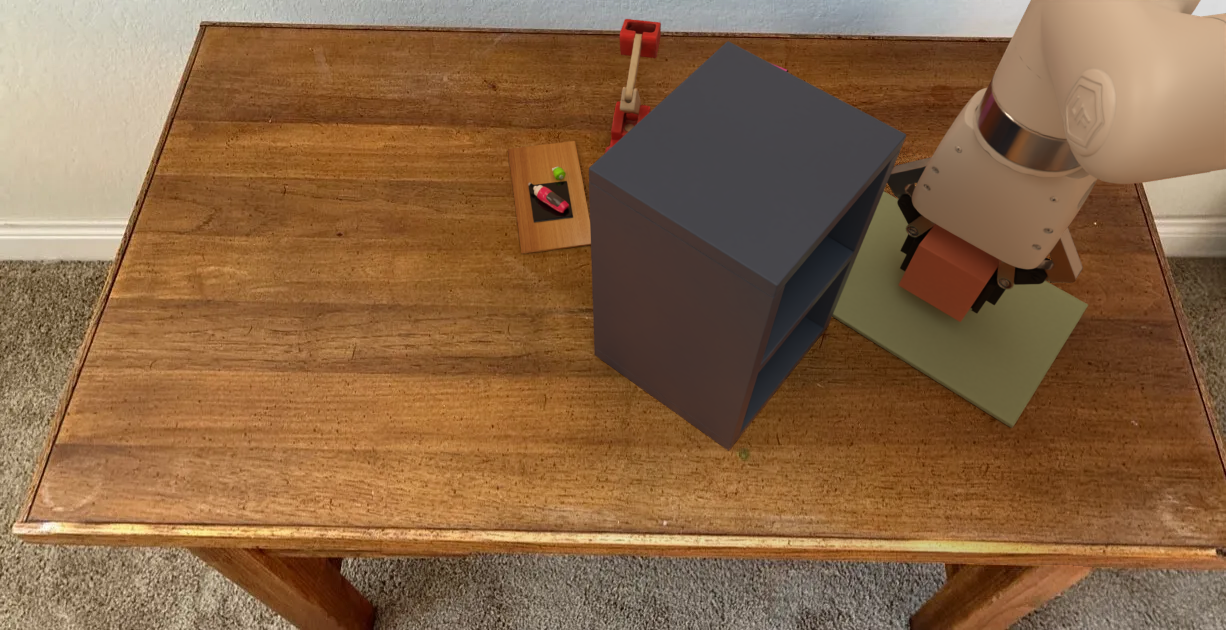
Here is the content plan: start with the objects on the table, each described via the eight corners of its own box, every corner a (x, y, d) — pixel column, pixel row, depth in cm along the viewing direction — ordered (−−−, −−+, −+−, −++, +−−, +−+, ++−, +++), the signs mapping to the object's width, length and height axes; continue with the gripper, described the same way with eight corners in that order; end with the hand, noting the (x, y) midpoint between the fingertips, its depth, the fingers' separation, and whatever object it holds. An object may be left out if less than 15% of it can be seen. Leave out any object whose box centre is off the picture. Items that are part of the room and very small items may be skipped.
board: (575, 142, 80) (574, 131, 79) (594, 244, 74) (593, 234, 73) (508, 150, 80) (506, 139, 79) (521, 254, 74) (519, 243, 72)
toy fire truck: (599, 202, 77) (598, 124, 68) (623, 94, 84) (624, 11, 76) (637, 207, 76) (640, 129, 68) (657, 97, 84) (662, 15, 75)
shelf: (828, 326, 70) (907, 134, 51) (728, 451, 64) (777, 285, 45) (698, 244, 74) (727, 40, 56) (594, 354, 68) (588, 167, 50)
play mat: (1086, 307, 71) (1088, 304, 71) (1011, 428, 65) (1013, 426, 65) (873, 188, 78) (874, 185, 77) (788, 289, 72) (788, 286, 71)
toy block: (991, 277, 70) (1019, 236, 65) (960, 322, 67) (986, 283, 63) (930, 242, 72) (953, 200, 67) (897, 285, 69) (918, 244, 65)
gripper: (1201, 147, 53) (1067, 306, 68) (946, 26, 58) (875, 198, 74) (1155, 222, 49) (1025, 371, 65) (891, 87, 55) (829, 254, 71)
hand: (946, 278), depth 69 cm, fingers closed on toy block, 5 cm apart
